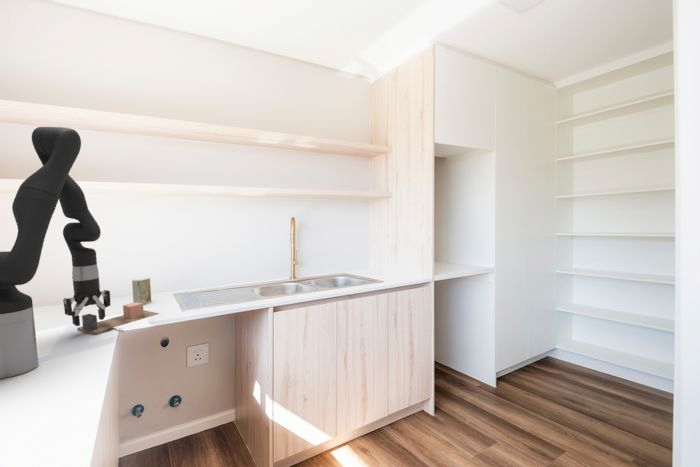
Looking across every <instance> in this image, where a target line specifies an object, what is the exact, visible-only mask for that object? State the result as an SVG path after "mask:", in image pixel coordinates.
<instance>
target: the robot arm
mask: <svg viewBox="0 0 700 467" xmlns="http://www.w3.org/2000/svg"><path fill="white" fill-rule="evenodd" d="M31 143H32V146H33V148H34V150H35V153H36V155H37V156H38V158H39V159H38V160H40V162H41V164H42V166H41V167H40V168H39V169H38V170H36V171H35V172H34V173H32V174H31V175H29V176H28V177H27V178H26V179H25V180H24V181H23V182H22V183H21V184H20V185H19V187H18V189H17V191H16V195H15V196H14V199H13V201H12V205H11V206H12V208H11V209H12V214H13V217H14V220H15V222H16V223H15V224H16V226H17V235H16V239H15V241H14V244H13V246H12V248H11V250H10V251H7V250H6V251H0V380H1V379H4V378H9V377H14V376H19V375H23V374H24V373H27V372H30V371H33V370H34V369H36V368H37V367H38V366H39V356H38V355H39V354H38V345H37V334H36V325H35V317H34V316H35V314H34V306H33V304H34V303H33V298H32V296H30V295H29V294H26V293H23V292H22V291H20V290H19V289H18V288H17V286H23V285H25V284H27V283H29V282H31V281H32V279H33V278H34V277H35V275H36V273H37V271H38V268H39V265H40V259H41V256H42V251H43V248H44V247H43V246H44V242H45V238H46V235H47V232H48V230H49V226H50V223H51V220H52V218H53V215H54V212H55V211H56V208H57V204H58V202H59V204H60V207H61V209H62V213H63V215H64V216H65V218H68V219H70V220H71V219H72V220H76V221H78V222H68V223H67V224H66V225H64V228H63V230H62V235H63V239H64V241H65V243H66V245H67V248H68V250H69V252H70V255H71V264H72V268H71V269H72V271H71V278H72V285H73V296H72V297H64V298H63V299H62V300H63V301H62V302H63V309H64V314H65V315H66V316H69V317H70V316H71V320H72V324H73V326H75V327H79V326H80V327H81V323H80V322H81V321H80V312H82V311H83V309H84V308H85V307H89V306H94V305H95V306H96V307H97V308H98V310H97V312H98V319H99V320H101V321H104V320H105V318H106V311H105V310H106V308H107V307H110V306H111V292H110V290H107V289H104V290H102V291H101V286H100V275H99V267H98V264H97V263H98V262H97V252H96V249H95V248H89V247H86V246H84V245H83V244H82V243H87V242H88V243H90V242H96V241H97V240H99V238H100V237H101V232H102V231H101V227H100V226H99V223H98V222H97V220H96V219H95V217H94V216H93V215H92V213H91V212H90V209H89V207H88V202H87V200H86V197H85V193H84V191H83V189H82V188H81V186H80V185H79V184H78V183H77V181H75V180H74V178H72V176H71V175H69V173H70V172H71V170H72V167H73V165H74V164H75V162H76V159H77V158H78V156H79V153H80V151H81V148H82V147H81V146H82V139H81V136H80V134H79V133H78V132H77V131H76V130H75V129H73V128H71V127H61V126H60V127H59V126H38V127H36V128H34V129H33V131H32V132H31ZM100 297H103V299H102V300H103V302H102V301H101V300H100ZM74 302H75V304H74V307H72V304H73V303H74Z"/></svg>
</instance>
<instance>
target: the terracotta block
mask: <svg viewBox="0 0 700 467" xmlns="http://www.w3.org/2000/svg"><path fill="white" fill-rule="evenodd" d="M122 308H123V309H122V310H123V311H122V312H123V315H124V318H128V319H134V318H137V317H141V316H144V312H143V310H144V305H143V303H138V302H134V303H133V302H131V303H130V302H129V303H125V304H124V305H122Z"/></svg>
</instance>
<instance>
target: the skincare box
mask: <svg viewBox="0 0 700 467" xmlns="http://www.w3.org/2000/svg"><path fill="white" fill-rule="evenodd" d="M131 284H132V285H131V286H132V298H133V299H132V300H133V301H132V303H134V302H138V303H143V306H144V305H145V306H146V305H148V304H151V303H152V292H151V291H152V289H151V288H152V287H151V278H150V277H141V278H137V279H134V280H133V279H132V280H131Z"/></svg>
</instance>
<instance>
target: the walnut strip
mask: <svg viewBox="0 0 700 467" xmlns="http://www.w3.org/2000/svg"><path fill="white" fill-rule="evenodd" d="M143 312H144V316H141V317H137V318H134V319H128V318H124V314H122V315H119V316H116V317H115V316H114V317H112V318H109V319H108V318H107V319H103V320H101V321H98V317H97V315H95V314H92V313H87V314H86V313H85V314H83V315H81V320H82V326H80V327H79V326H77V331H80V332H83V333H86V334H90V335H93V336H96V335H99V334H102V333H106V332H109V331H113V330H116V329H117V328H116V327H120V326H123V325H127V324H131V323H133V322H137V321H140V320H144V319H146V318H149V317H154V316H157V315H160V312H154V311H149V310H145V309H143Z"/></svg>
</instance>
